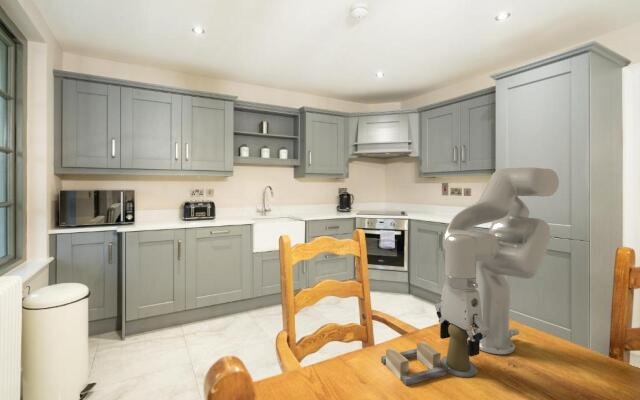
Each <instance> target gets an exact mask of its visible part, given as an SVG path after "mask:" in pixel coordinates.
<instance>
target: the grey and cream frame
mask: <svg viewBox="0 0 640 400" xmlns="http://www.w3.org/2000/svg"><path fill="white" fill-rule="evenodd" d="M413 358H416V360H417V361H418V362H420V363H421V364H422V365H424V366H425V367H426V368H428V369H426V370H422V371H418V372H414V373H410V374H409V361H410V359H413ZM440 360H441V352H440V351H439V350H437V349H435V348H434V347H432V346H431V345H430V344H428V343H427V342H426V341H421V342H418V343H416V348H415V349H414V348H413V349H409V350H404V351H401V352H400V351H398V350H396V348H395V347H394V348H390V349H389V348H388V349H385V355H383V356H381V357H380V362H381V363H382V364H383V366H384V365H385V367H386V368H387V369H388V370H389V371H390V372H391V373H392V374H393V375H394V376H395V377H396V378H398V380H399V381H402V384H404V386H409V385H413V384H417V383H420V382H425V381H427V380H431V379H435V378H439V377H444V376H446V375H447V374H448V373H447V369H446V368H445V367H443V366H440Z"/></svg>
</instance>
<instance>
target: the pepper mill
mask: <svg viewBox="0 0 640 400" xmlns="http://www.w3.org/2000/svg"><path fill="white" fill-rule="evenodd" d="M448 332H449V334H450V337H449V340H448V341H449V342H448V348H447V353H446V356H447V358H446V365H447V366H448V367H449V368H451V369H452V370H455V371H459V372H467V371H469V370H470V369H471V367H470V361H471V360H470V356H469V355H468V337H469V336H468V333H467V331H466V330H464V329H462V328H460V327H458V326H456V325H454V324H452V323H451V324H450V325H449V327H448Z"/></svg>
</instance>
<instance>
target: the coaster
mask: <svg viewBox="0 0 640 400" xmlns="http://www.w3.org/2000/svg"><path fill="white" fill-rule="evenodd" d="M446 358H447V355H446V356H443V357H442V358H440V367H441V366H443V367H445V368H446V369H447V374H449V375H452V376H455V377H458V378H473V377H476V375H477V374H478V367H477V365H476V364H475V363H474V362H473V361H471V360H470V367H471V369H470V370H469V371H467V372H459V371H455V370H452V369H451V368H449V367H448V366H447V365H446Z"/></svg>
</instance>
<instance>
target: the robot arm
mask: <svg viewBox="0 0 640 400" xmlns="http://www.w3.org/2000/svg"><path fill="white" fill-rule="evenodd" d="M559 185H560V180H559V176H558V174H557V172H556V171H555V170H553V169H550V168H542V167H508V168H507V167H506V168H505V167H504V168H500V169H497V170H495V172H493V173H492V174H491V176H490V177H489V180H488V182H487V183H486V185H485V188H484V189H483V191H482V194H481V195H480V196H479V197H480V198H479V200H478V201H476V202H475V203H472V204H470V205H468V206H467V207H465V208H464V209H462V210H461V211H459V212H458V213H456V214H455V215H454V216H453V217H452V219H451V220H450V222H449V224H448V226H447V228H446V229H445V231H444V234H443V237H442V248H443V249H444V255H445V256H444V257H445V260H444V283H443V286H442V291H441V297H440V302H437V303H434V307H435V310H436V316H437V317H438V323H439V324H440V325H439V326H440V327H439V328H440V331H439V332H440V333H439V337H440V339H442V340H444V339H450V334H449V332H448V327H449V325H450V324H451V323H452V324H454V325H456V326H458V327H460V328H462V329H464V330H466V331H467V333H468V336H469V337H468V339H467V341H468V355H469V358H470V357H474V356H478V355H479V354H480V351H482V352H485V353H488V354H493V355H510V354H512V353H513V352H514V351H515V350H516V344H515V342H513V341H512V340H511V339H512V337H514V336H518V335H519V334H520V330H519V329H518V328H510V318H511V315H510V314H511V287H510V284H509V283H508V281H507V279H506V277H505V276H508V277H513V278H517V279H523V280H531V279H534V278H536V276H537V275H538V274H539V271H540V269H541V266H542V263H543V262H544V258H545V257H546V253H547V251H548V248H549V246H550V245H549V244H550V240H551V228H550V226H549V224H548V223H547V222H546V221H545V220H543V219H541V218H537V217H530V210H529V207H528V206H527V205H526V203H525V202H524V201H523V200H522V199H521V198H519V197H551V196H553V195H554V194H555V193H556V192H557V190H558V189H559ZM491 222H492V223H491ZM487 223H488V224H489V223H491V225H490V226H489V229H488V232H482V231H475V230H470V229H471V228H474V227H476V226H479V225H484V224H487Z"/></svg>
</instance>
